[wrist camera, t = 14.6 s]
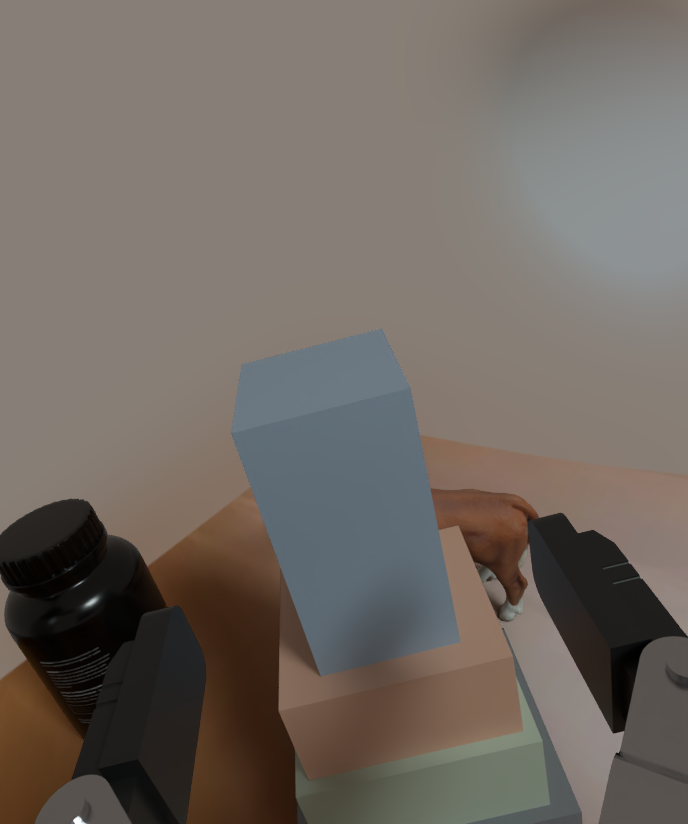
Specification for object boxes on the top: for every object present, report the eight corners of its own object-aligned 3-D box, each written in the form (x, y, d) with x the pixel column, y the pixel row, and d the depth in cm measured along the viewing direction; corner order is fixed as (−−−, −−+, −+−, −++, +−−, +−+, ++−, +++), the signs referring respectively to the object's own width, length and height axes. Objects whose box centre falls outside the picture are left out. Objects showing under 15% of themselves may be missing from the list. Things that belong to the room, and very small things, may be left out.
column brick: (320, 676, 21) (231, 433, 16) (313, 576, 25) (241, 364, 21) (460, 642, 21) (410, 387, 16) (428, 548, 25) (381, 328, 20)
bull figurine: (348, 545, 41) (319, 445, 37) (552, 581, 34) (542, 463, 30) (317, 592, 37) (282, 488, 34) (536, 642, 31) (523, 518, 27)
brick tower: (306, 892, 23) (232, 749, 19) (300, 691, 31) (248, 560, 27) (582, 830, 23) (570, 671, 19) (505, 644, 31) (485, 503, 27)
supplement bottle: (219, 656, 35) (141, 490, 29) (140, 768, 29) (27, 593, 24) (135, 632, 38) (51, 480, 32) (51, 730, 33) (-66, 568, 27)
